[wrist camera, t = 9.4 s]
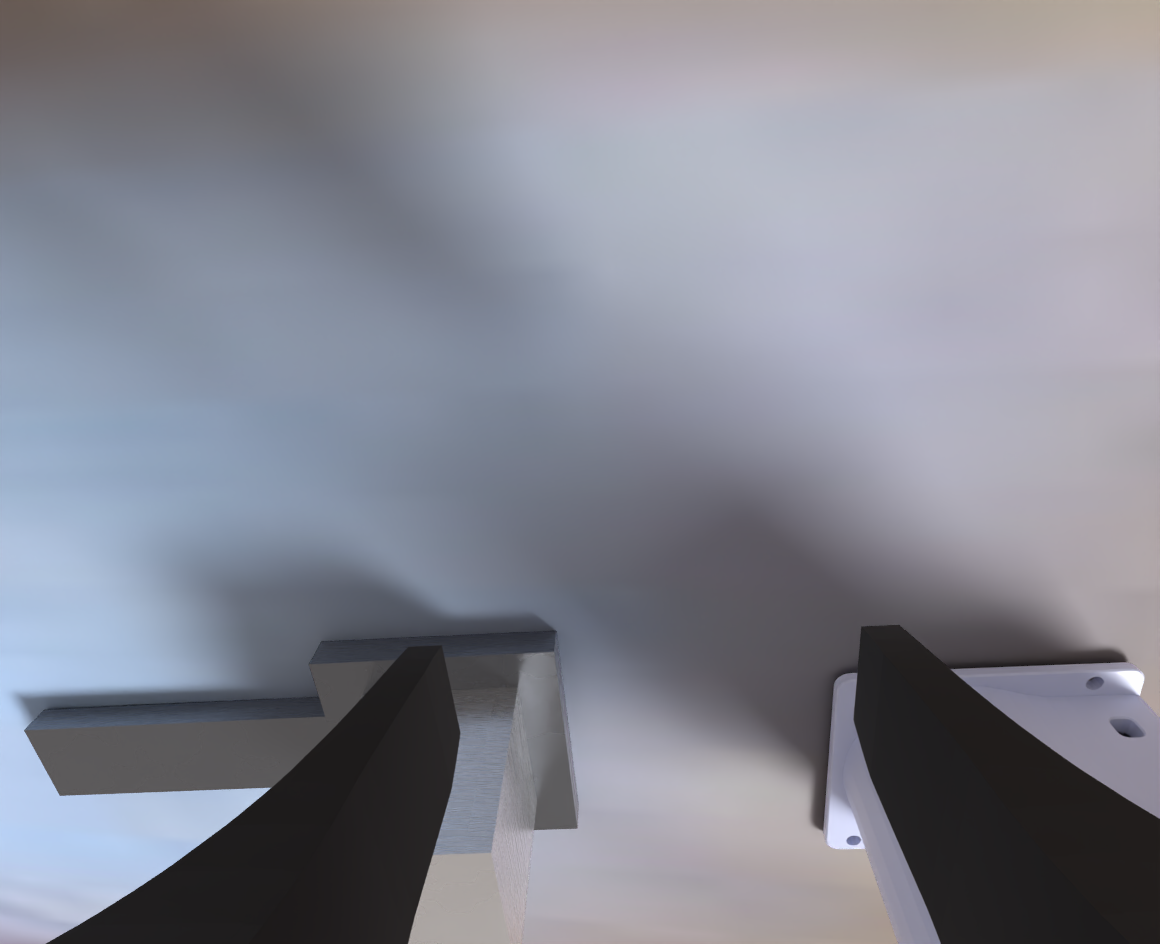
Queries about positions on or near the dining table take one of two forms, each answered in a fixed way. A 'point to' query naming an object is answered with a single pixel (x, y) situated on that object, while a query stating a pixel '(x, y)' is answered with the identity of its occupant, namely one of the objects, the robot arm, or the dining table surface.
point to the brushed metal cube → (482, 829)
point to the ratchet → (304, 724)
